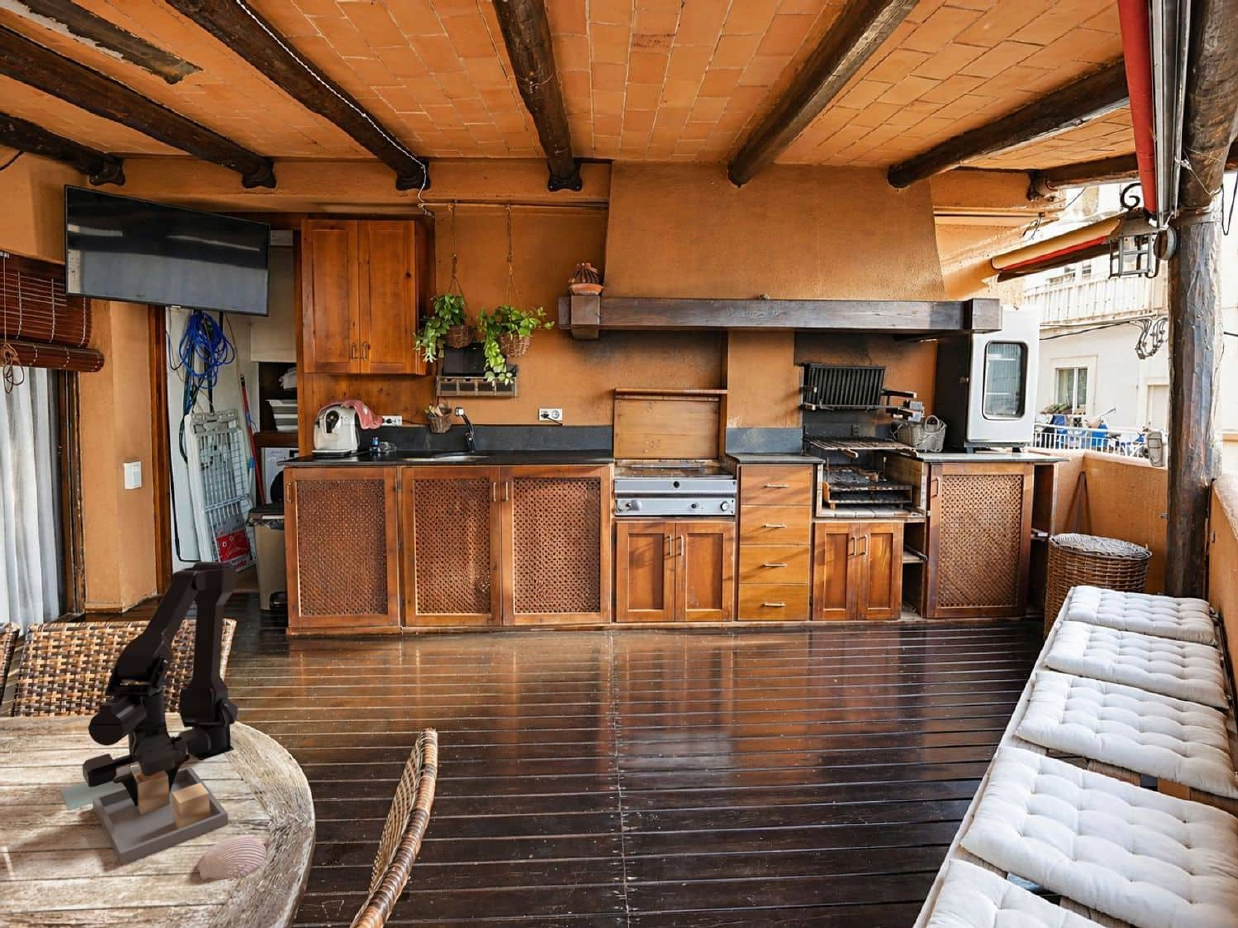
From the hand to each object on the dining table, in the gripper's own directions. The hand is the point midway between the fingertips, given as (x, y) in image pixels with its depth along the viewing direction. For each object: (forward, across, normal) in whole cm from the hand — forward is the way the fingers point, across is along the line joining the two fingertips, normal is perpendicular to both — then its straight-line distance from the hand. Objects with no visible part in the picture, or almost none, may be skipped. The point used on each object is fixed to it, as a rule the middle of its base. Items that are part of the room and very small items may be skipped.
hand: (151, 799), depth 133 cm
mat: (+1, -5, +12) cm, 14 cm away
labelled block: (+1, 0, 0) cm, 1 cm away
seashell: (+2, +5, -26) cm, 27 cm away
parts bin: (+1, 0, -5) cm, 5 cm away
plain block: (+1, +4, -11) cm, 12 cm away
